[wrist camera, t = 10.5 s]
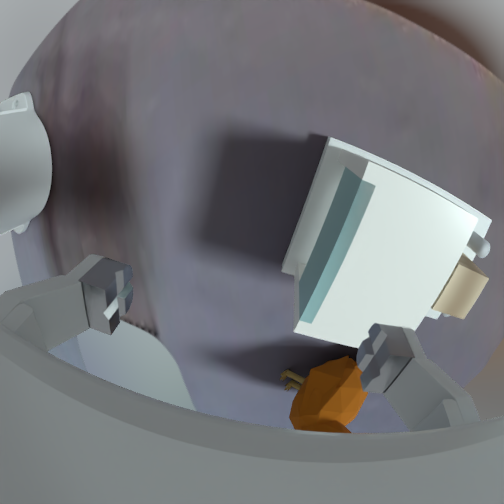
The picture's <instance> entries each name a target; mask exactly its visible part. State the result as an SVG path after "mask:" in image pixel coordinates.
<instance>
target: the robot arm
mask: <svg viewBox="0 0 504 504" xmlns="http://www.w3.org/2000/svg"><path fill="white" fill-rule="evenodd" d="M51 179H52V158H51V150H50V145H49V140H48V137H47V133H46V131H45V128H44V126H43V124H42V122H41V121H40V119H39V118H38V116H37V115H36V113H35V111H34V106H33V101H32V97H31V94H30V93H29V92H23V93H20V94H17V95H15V96H13V97H10V98H8V99H6V100H4V101H2V102H0V236H1V235H3V234H5V233H7V232H9V231H11V230H14V231H15V232H16V233H18V234H20V233H23V232H25V231H26V229H27V227H28V225H29V222H30V220H31V219H32V218H34V217H35V216H37V215H38V214H39V213H40V212H41V211H42V209H43V208H44V206H45V204H46V202H47V199H48V196H49V192H50V187H51ZM132 277H133V273H132V267H131V266H130V265H128V264H125V263H121V262H118V261H115V260H112V259H109V258H105V257H103V256H100V255H96V254H90V255H89V256H88V257H87V258H86V259H84V260H83V261H82V262H81V263H80V264H79V265H77V266H76V267H75V268H74V269H73V270H72V271H71V272H70V273H68V274H67V275H66V276H64V275H60V276H56V277H53V278H49V279H46V280H42V281H39V282H35V283H32V284H29V285H25V286H22V287H18V288H15V289H12V290H8V291H5V292H4V293H3V294H2V295H1V296H0V504H504V416H500V417H496V418H493V419H489V420H484V421H481V420H480V417H479V414H478V412H477V410H476V407H475V405H474V402H473V400H472V398H471V396H470V395H469V394H468V393H467V392H466V391H465V390H463V389H462V388H461V387H460V386H459V385H458V384H457V383H456V382H455V381H454V380H453V379H451V378H450V377H449V376H448V375H447V374H446V373H445V372H444V371H443V370H442V369H440V368H439V367H438V366H437V365H436V364H435V363H434V362H433V361H431V360H430V359H427V358H426V355H425V353H424V351H423V349H422V347H421V345H420V342H419V340H418V338H417V336H416V334H415V332H414V330H413V329H412V328H409V327H401V326H399V327H398V326H392V325H385V324H379V323H374V324H373V325H372V326H371V328H370V329H369V331H368V334H369V337H368V338H367V339H365V340H363V341H362V343H361V345H360V346H359V348H358V352H357V366H358V368H359V369H360V370H361V371H362V374H361V375H360V380H361V385H362V389H363V392H373V393H384V394H383V395H384V396H385V397H386V399H387V400H388V402H389V403H390V404H391V406H392V407H393V408H394V410H395V411H396V412H397V414H398V415H399V417H400V418H401V419H402V421H403V422H404V423H405V425H406V426H407V428H408V429H409V430H410V432H394V433H332V432H316V431H304V430H294V429H286V428H278V427H271V426H264V425H258V424H252V423H247V422H241V421H236V420H231V419H227V418H222V417H218V416H213V415H209V414H205V413H201V412H197V411H193V410H190V409H186V408H183V407H179V406H176V405H172V404H169V403H166V402H163V401H160V400H156V399H153V398H150V397H147V396H145V395H142V394H139V393H136V392H133V391H131V390H128V389H125V388H123V387H120V386H118V385H115V384H113V383H110V382H108V381H106V380H103V379H101V378H99V377H97V376H94V375H92V374H90V373H88V372H86V371H83V370H81V369H79V368H77V367H75V366H73V365H71V364H69V363H67V362H65V361H63V360H61V359H59V358H57V357H55V356H54V355H52V354H50V353H48V351H49V350H51V349H52V348H54V347H56V346H58V345H60V344H62V343H64V342H65V341H67V340H69V339H71V338H73V337H75V336H77V335H78V334H80V333H82V332H84V331H86V330H88V329H89V328H92V329H95V330H98V331H100V332H103V333H106V334H109V335H111V334H112V333H113V332H114V330H115V329H116V327H117V326H118V324H119V323H120V319H119V317H120V316H122V315H125V314H126V313H127V311H128V310H129V308H130V305H131V303H132V299H133V287H132V286H131V284H130V282H129V281H130V280H131V278H132Z"/></svg>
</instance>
